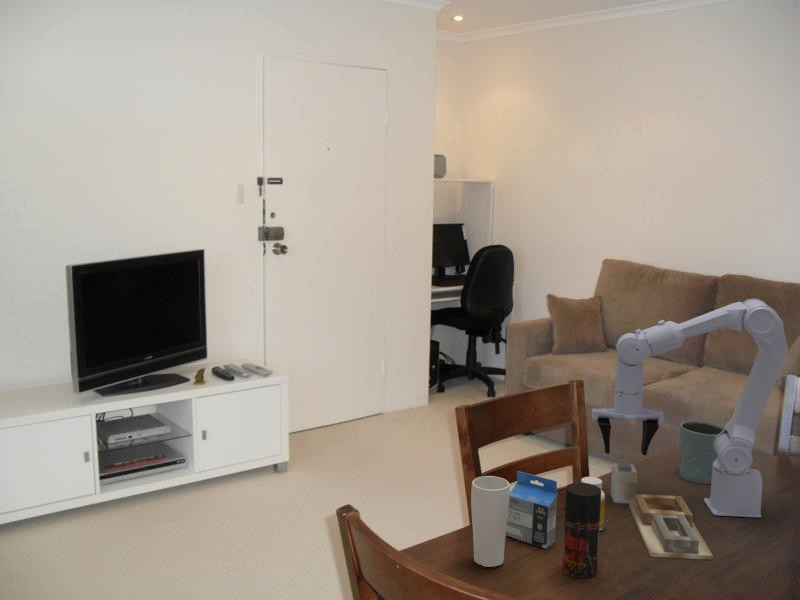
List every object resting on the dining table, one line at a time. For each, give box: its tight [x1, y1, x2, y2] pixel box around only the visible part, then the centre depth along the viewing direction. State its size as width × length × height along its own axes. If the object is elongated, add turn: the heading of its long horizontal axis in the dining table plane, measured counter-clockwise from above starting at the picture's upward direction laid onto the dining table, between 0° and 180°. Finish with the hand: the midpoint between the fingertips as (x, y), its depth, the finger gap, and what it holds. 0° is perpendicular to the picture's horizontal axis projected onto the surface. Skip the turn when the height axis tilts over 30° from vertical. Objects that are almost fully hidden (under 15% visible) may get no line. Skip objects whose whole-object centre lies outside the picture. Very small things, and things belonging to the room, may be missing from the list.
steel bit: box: [610, 462, 638, 504], centre depth 173 cm, size 4×4×8 cm
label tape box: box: [506, 470, 558, 549], centre depth 153 cm, size 9×4×12 cm, turn 53°
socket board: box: [628, 493, 714, 561], centre depth 157 cm, size 11×22×3 cm, turn 174°
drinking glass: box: [470, 475, 511, 568], centre depth 144 cm, size 7×7×15 cm
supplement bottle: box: [580, 476, 606, 532], centre depth 159 cm, size 5×5×10 cm
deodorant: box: [562, 482, 602, 579], centre depth 141 cm, size 6×6×15 cm
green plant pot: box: [679, 420, 725, 485], centre depth 185 cm, size 10×10×12 cm
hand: (625, 452), depth 172 cm, fingers open, 7 cm apart
